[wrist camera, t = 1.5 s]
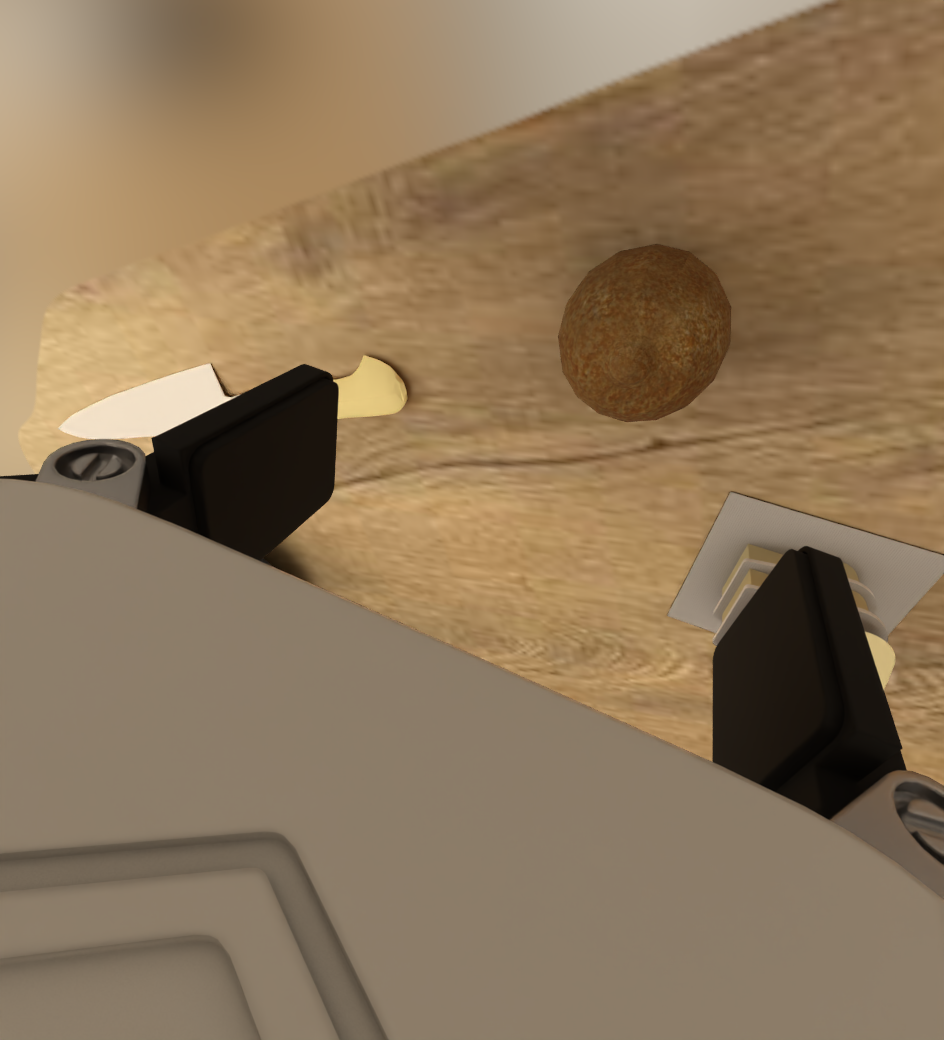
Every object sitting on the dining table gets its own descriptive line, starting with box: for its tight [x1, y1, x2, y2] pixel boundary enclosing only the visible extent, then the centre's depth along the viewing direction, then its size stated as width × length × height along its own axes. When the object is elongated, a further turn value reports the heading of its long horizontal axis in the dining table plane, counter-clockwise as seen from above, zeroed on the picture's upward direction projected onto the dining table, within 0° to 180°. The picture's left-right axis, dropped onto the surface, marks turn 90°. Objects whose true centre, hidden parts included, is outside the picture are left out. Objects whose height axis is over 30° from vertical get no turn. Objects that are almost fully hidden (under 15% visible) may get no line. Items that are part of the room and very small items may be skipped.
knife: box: [58, 355, 408, 439], centre depth 36 cm, size 1×33×4 cm
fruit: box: [558, 244, 731, 422], centre depth 21 cm, size 6×6×8 cm
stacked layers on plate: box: [667, 492, 944, 690], centre depth 26 cm, size 10×9×6 cm
